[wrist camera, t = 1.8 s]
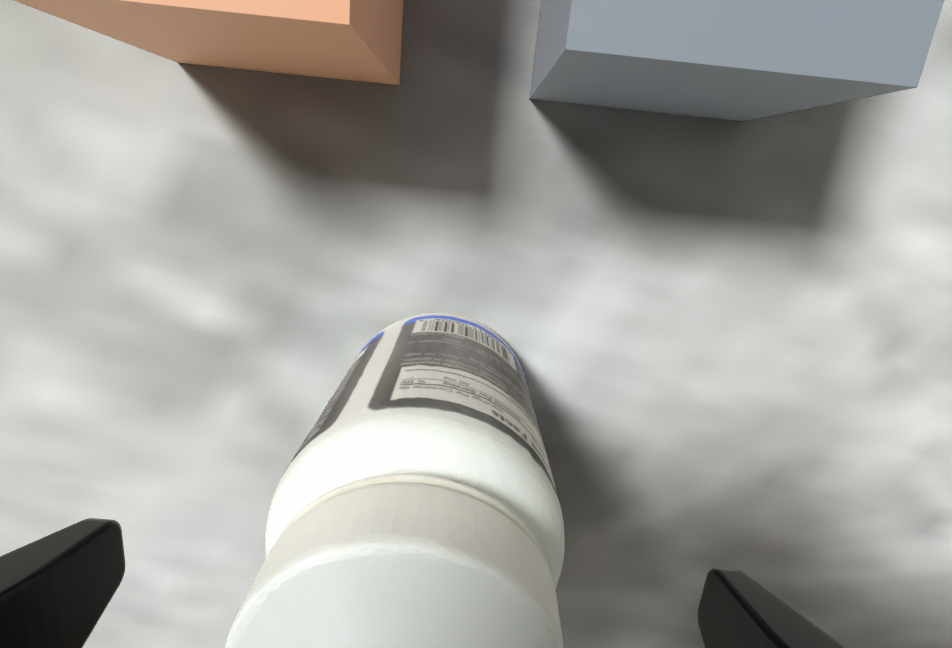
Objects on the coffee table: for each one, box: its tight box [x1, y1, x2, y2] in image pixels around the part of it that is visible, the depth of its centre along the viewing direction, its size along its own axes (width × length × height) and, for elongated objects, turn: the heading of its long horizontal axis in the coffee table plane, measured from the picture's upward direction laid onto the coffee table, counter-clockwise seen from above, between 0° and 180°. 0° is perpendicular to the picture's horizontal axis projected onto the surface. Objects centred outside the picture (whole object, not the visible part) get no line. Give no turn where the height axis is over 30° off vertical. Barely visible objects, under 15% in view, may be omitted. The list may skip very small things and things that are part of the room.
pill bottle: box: [225, 313, 565, 648], centre depth 10 cm, size 5×5×8 cm
